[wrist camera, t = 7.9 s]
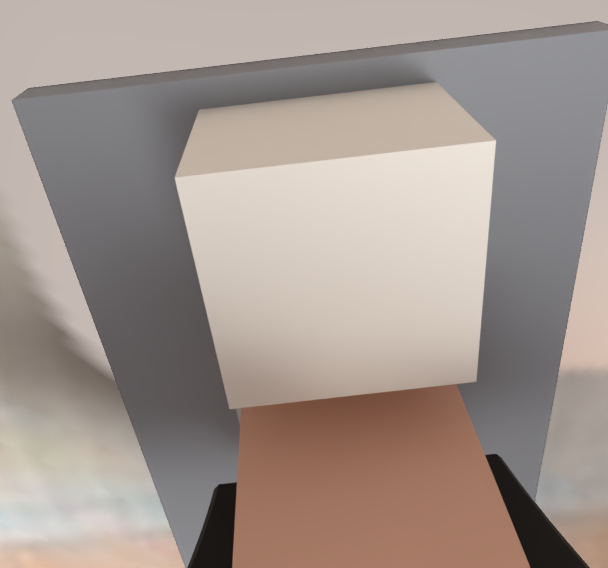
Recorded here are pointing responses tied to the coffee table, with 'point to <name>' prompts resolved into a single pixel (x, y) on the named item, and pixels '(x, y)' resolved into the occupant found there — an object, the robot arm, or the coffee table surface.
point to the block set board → (158, 265)
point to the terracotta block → (369, 486)
